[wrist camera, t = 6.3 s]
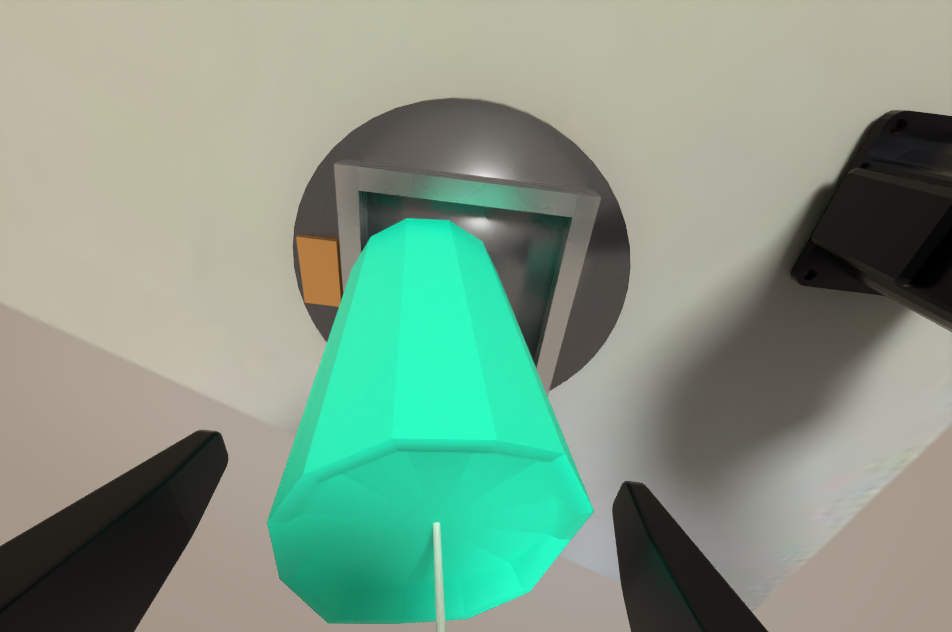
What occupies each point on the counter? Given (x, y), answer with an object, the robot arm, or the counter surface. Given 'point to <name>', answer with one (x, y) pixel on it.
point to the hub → (476, 218)
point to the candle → (424, 445)
